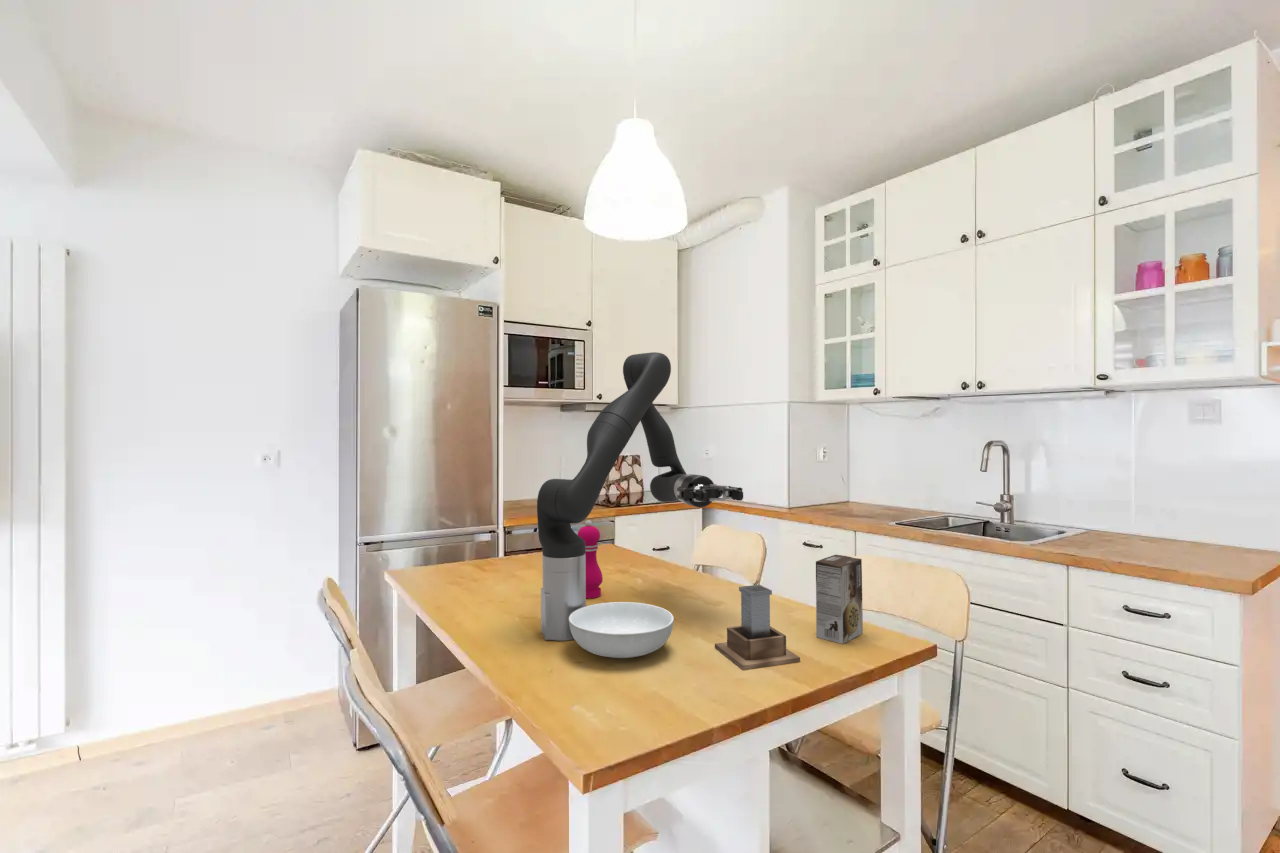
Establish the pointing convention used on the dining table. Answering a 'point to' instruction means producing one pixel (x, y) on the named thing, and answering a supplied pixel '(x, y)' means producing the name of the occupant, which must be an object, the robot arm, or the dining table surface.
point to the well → (756, 649)
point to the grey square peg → (755, 611)
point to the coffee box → (839, 598)
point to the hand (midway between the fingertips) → (723, 496)
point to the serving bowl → (621, 628)
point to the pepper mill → (591, 559)
